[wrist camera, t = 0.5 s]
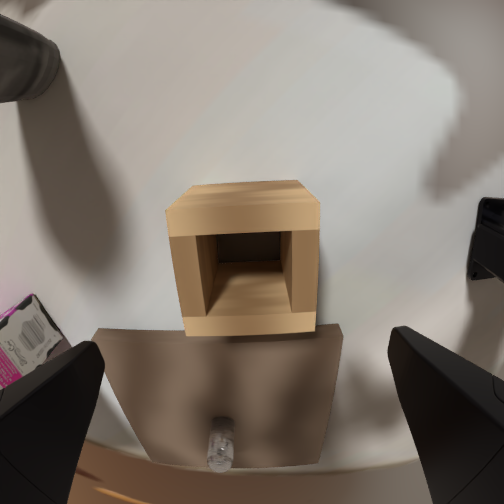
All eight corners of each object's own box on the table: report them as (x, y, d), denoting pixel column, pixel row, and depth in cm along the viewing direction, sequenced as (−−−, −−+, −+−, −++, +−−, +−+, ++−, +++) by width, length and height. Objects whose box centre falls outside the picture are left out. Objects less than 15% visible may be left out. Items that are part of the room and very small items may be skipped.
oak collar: (297, 180, 17) (319, 202, 11) (297, 275, 19) (314, 331, 14) (193, 185, 17) (165, 210, 12) (203, 279, 19) (186, 336, 14)
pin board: (338, 323, 21) (363, 388, 15) (316, 452, 27) (324, 501, 21) (98, 328, 21) (62, 384, 15) (155, 452, 28) (144, 498, 21)
